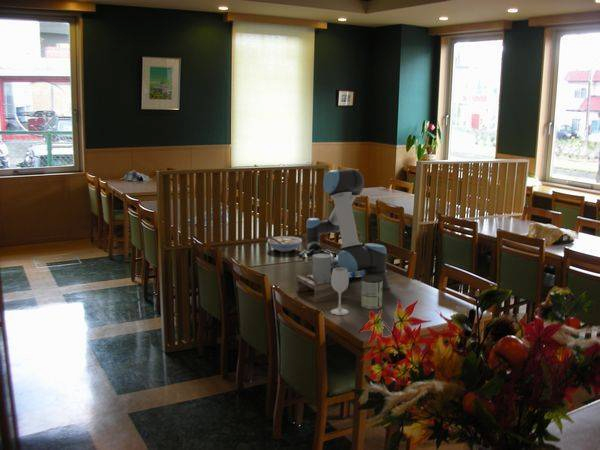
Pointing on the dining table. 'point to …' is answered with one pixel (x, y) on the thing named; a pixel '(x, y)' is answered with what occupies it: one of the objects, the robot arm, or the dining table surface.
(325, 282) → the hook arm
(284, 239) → the ramen bowl
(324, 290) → the shelf
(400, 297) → the dining table surface
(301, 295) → the dining table surface
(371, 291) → the coffee can
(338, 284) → the wineglass
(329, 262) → the gray cylinder
